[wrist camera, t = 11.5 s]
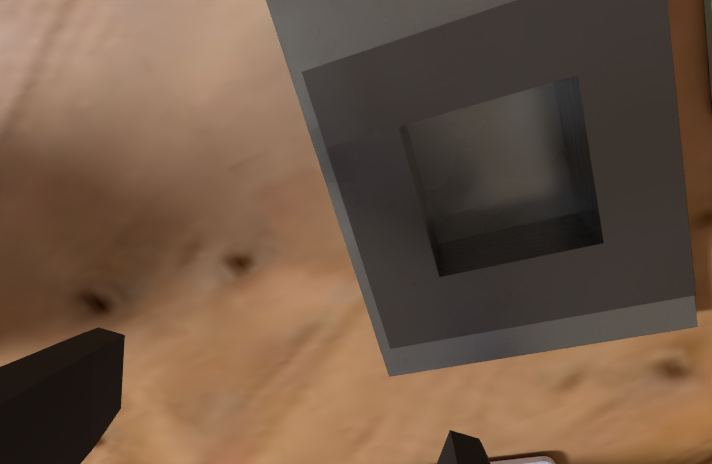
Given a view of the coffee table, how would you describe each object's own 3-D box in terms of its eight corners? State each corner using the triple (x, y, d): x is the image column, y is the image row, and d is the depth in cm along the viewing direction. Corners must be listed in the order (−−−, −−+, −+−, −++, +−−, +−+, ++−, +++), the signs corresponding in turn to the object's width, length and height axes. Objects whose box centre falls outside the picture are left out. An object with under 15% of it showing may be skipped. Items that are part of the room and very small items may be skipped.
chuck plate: (684, 313, 19) (747, 376, 15) (391, 363, 22) (382, 426, 18) (634, -152, 14) (706, -227, 10) (270, -12, 17) (225, -32, 13)
